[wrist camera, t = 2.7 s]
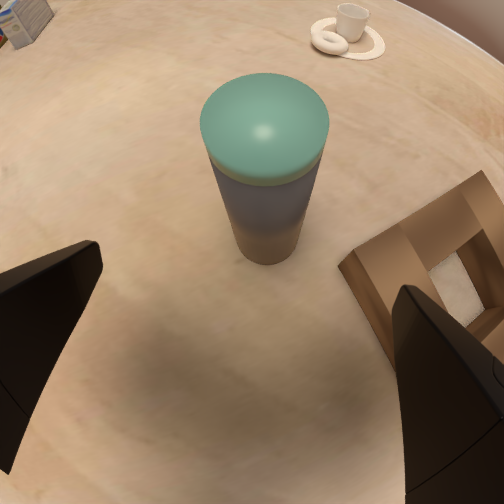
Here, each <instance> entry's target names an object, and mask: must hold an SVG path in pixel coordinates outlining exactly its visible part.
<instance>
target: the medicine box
mask: <svg viewBox="0 0 504 504" xmlns="http://www.w3.org/2000/svg"><path fill="white" fill-rule="evenodd" d="M53 16H54V13H53V11H52V9H51V8H50V6H49V4H48V2H47V0H9V1H8V2H7V3H6V4H5V5H4V6H3V7H2V9H1V10H0V28H1V29H2V31H3V32H4V34H5V35H6V36H7V38H8V39H9V41H10V42H11V43H12V45H13V46H14V47H15V49H19V48H22V47H24V46H26V45H29V44H31V43H33V42H34V40H35V39H36V38H37V36H38V35H39V33H40V32H41V31H42V29H43V28H44V27H45V26H46V24H47V23H48V22H49V21H50V19H51V18H52V17H53Z"/></svg>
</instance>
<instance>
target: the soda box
mask: <svg viewBox="0 0 504 504" xmlns="http://www.w3.org/2000/svg"><path fill="white" fill-rule="evenodd" d="M1 9H2V7H1V5H0V10H1ZM7 40H8V38H7V36H6V35H5V34H4V32H3V31H2V29H1V28H0V48H1V47H2V46H3V44H4V43H5V42H6V41H7Z"/></svg>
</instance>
